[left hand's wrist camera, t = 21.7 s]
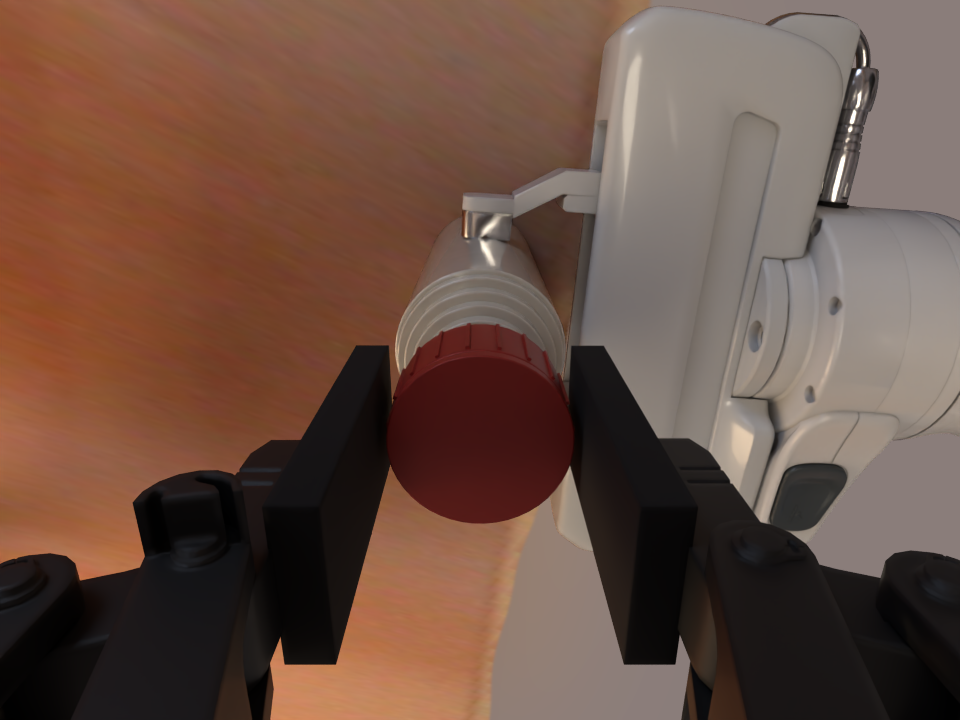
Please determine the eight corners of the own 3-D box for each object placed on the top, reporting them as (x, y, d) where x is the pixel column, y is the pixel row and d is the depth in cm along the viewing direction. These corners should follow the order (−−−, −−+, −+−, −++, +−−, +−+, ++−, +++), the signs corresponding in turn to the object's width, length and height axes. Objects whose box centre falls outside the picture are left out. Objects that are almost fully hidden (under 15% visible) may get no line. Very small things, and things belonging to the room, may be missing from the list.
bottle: (425, 215, 29) (351, 325, 12) (530, 209, 29) (597, 312, 12) (434, 315, 31) (378, 531, 14) (532, 310, 30) (594, 521, 14)
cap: (564, 316, 14) (578, 348, 12) (564, 470, 15) (577, 522, 13) (389, 324, 14) (373, 357, 12) (405, 477, 15) (394, 530, 13)
